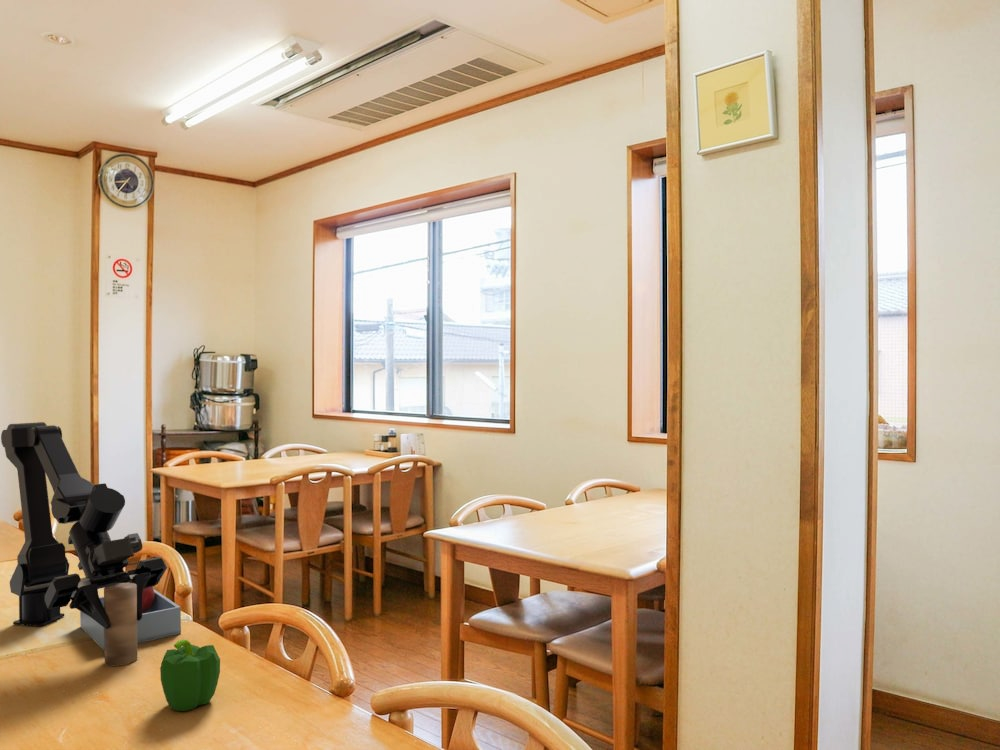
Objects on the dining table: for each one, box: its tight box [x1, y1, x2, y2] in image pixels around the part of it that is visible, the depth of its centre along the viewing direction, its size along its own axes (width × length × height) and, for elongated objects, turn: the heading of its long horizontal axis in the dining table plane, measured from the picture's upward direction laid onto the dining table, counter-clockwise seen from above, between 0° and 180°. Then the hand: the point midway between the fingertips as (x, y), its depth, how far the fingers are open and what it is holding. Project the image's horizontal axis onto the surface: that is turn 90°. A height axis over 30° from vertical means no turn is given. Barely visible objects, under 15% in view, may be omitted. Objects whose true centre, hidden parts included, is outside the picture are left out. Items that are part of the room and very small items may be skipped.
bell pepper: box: [159, 639, 221, 712], centre depth 115 cm, size 8×8×10 cm
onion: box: [142, 586, 155, 613], centre depth 154 cm, size 6×6×8 cm
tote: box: [79, 588, 182, 652], centre depth 148 cm, size 17×13×5 cm
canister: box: [103, 583, 138, 667], centre depth 132 cm, size 5×5×12 cm
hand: (124, 623), depth 132 cm, fingers closed on canister, 5 cm apart
